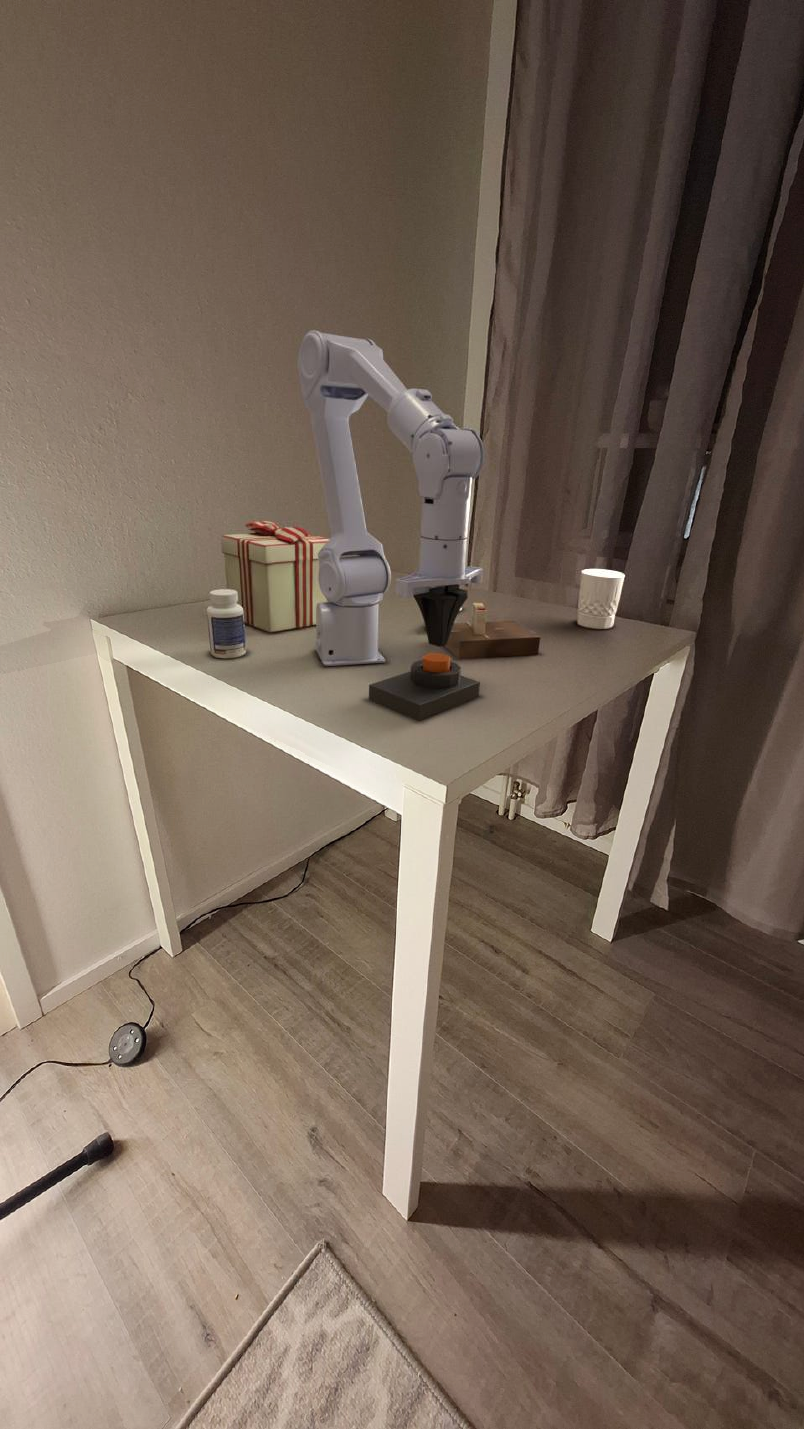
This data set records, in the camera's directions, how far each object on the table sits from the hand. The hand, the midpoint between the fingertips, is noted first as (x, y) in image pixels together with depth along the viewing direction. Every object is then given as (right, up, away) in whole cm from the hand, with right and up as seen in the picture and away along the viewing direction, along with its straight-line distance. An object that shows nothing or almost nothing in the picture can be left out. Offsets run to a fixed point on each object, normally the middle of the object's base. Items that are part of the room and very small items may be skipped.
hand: (437, 644), depth 80 cm
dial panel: (+10, +2, +23) cm, 25 cm away
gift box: (-27, +9, +36) cm, 46 cm away
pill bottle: (-32, 0, +16) cm, 35 cm away
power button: (0, -3, +1) cm, 4 cm away
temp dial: (+8, +5, +22) cm, 23 cm away
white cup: (+33, +8, +39) cm, 52 cm away
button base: (-2, -7, +2) cm, 7 cm away
